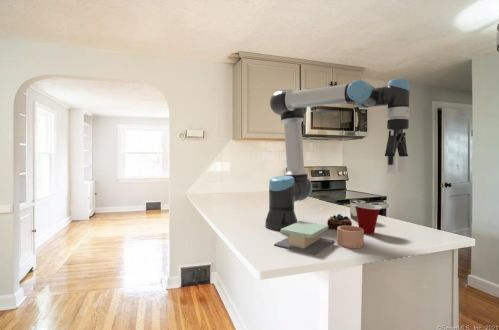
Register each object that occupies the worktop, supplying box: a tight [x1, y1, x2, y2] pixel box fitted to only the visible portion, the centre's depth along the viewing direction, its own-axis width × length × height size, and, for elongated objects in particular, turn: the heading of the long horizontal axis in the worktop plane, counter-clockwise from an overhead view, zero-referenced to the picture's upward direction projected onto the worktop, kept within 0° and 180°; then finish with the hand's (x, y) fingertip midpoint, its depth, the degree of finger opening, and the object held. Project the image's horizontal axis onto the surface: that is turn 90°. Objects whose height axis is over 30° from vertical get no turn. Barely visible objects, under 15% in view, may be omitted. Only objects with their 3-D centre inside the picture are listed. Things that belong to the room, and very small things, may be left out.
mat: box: [273, 233, 335, 256], centre depth 104 cm, size 16×18×5 cm
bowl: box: [336, 225, 365, 249], centre depth 103 cm, size 9×9×6 cm
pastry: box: [326, 213, 353, 230], centre depth 129 cm, size 11×12×6 cm
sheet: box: [279, 220, 329, 238], centre depth 104 cm, size 12×16×1 cm
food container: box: [349, 199, 367, 224], centre depth 142 cm, size 12×6×10 cm, turn 179°
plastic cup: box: [354, 203, 382, 235], centre depth 119 cm, size 11×11×12 cm
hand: (396, 173), depth 110 cm, fingers open, 13 cm apart
